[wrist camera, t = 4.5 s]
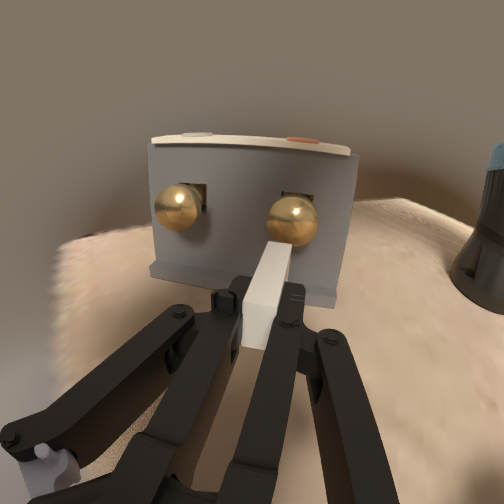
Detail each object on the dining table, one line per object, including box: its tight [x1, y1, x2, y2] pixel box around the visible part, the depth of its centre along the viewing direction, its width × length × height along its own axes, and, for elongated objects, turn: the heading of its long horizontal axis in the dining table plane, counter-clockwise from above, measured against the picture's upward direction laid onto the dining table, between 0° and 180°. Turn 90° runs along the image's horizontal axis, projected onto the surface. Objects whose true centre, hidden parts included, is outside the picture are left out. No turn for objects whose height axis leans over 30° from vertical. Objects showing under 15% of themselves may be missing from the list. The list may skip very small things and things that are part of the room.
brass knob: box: [267, 191, 318, 247], centre depth 28 cm, size 9×4×4 cm, turn 167°
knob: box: [154, 183, 207, 232], centre depth 30 cm, size 9×4×4 cm, turn 167°
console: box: [148, 132, 359, 309], centre depth 31 cm, size 6×22×17 cm, turn 77°
